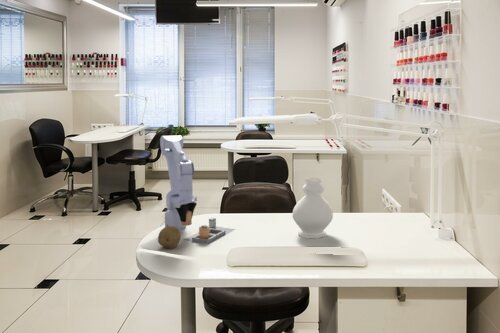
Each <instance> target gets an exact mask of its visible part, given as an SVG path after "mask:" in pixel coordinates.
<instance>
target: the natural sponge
mask: <svg viewBox="0 0 500 333" xmlns="http://www.w3.org/2000/svg"><path fill="white" fill-rule="evenodd" d="M180 240H181V232H180V229H177V228H176V227H174V226H167V227H165V226H164V227H163V228H162V229H161V230H160V232H159V233H158V236H157V242H158V244H159V245H160V246H161V247H163V248H165V249H168V250H169V249H171V250H172V249H175V248H176V247H178V245H179V242H180Z"/></svg>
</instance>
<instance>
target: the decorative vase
mask: <svg viewBox="0 0 500 333" xmlns="http://www.w3.org/2000/svg"><path fill="white" fill-rule="evenodd" d="M304 182H305V184H303V186H302V191H303V192H304V193H305V195H304V196H303V197H301V198H300V199H299V200H298V201H297V203H296V204H295V205H294V207H293V209H292V219H293V221H294V222H295V224H296V225H297V227H299V229H300V230H299V231H298V232H297V234H298V236H300V237H302V238H305V239H322V238H325V237H326V236H327V232H326V231H325V230H326V228H327V227H328V226H329V225H330V223H331V222H332V220H333V216H334V215H333V209H332V207H331V205H330V204H329V202H328V201H327V200H326V199H325V198H324V197H323V196H322V195H321V194H322V193H323V192H324V190H325V187H324V185H323V184H322V182H323V179H322V178H318V177H306V178H305V179H304ZM324 236H325V237H324ZM321 237H322V238H321Z"/></svg>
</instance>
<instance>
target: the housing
mask: <svg viewBox="0 0 500 333" xmlns="http://www.w3.org/2000/svg"><path fill="white" fill-rule="evenodd" d="M235 230H236V228H230V227H222V226H216V227H214V228H210V238H209V239H201V238H199V231H198V232H197V233H195V234H192V235H190V236H188V237H187V238H184V239H183V240H184V241H187V242H194V243H199V244H204V245H205V244H206V245H210V244H212V243H214V242H215V241H217V240H219V239H220V238H223V237H225V236H226V235H228V234H230V233H231V232H233V231H235Z"/></svg>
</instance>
